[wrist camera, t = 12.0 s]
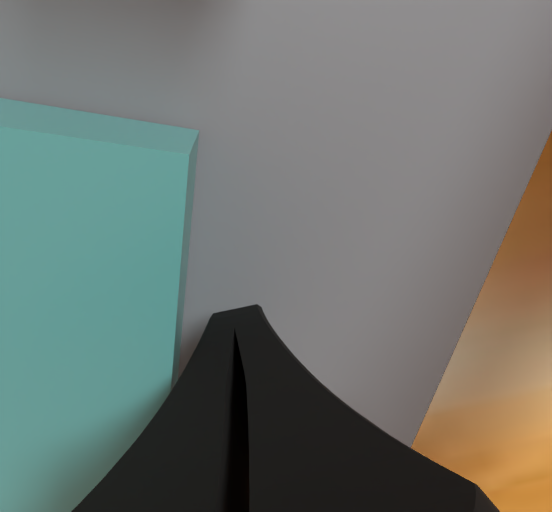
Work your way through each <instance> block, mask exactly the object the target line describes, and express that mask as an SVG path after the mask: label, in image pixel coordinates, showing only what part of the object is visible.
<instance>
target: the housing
mask: <svg viewBox="0 0 552 512" xmlns="http://www.w3.org/2000/svg"><path fill="white" fill-rule="evenodd" d="M198 139H199V130H195V129H189V128H183V127H176V126H170V125H164V124H158V123H152V122H146V121H140V120H133V119H127V118H121V117H115V116H109V115H103V114H96V113H90V112H84V111H78V110H72V109H66V108H60V107H53V106H47V105H41V104H35V103H29V102H23V101H16V100H10V99H4V98H0V512H71V511H72V510H73V509H74V508H75V507H76V506H77V505H78V504H79V503H80V502H81V501H82V500H83V499H84V498H85V497H86V496H87V495H88V494H89V493H90V492H91V491H92V490H93V489H94V488H95V486H96V485H97V484H98V483H99V482H100V481H101V480H102V479H103V478H104V477H105V476H106V474H107V473H108V472H109V471H110V470H111V469H112V468H113V466H114V465H115V464H116V463H117V462H118V461H119V459H120V458H121V457H122V456H123V455H124V454H125V452H126V451H127V450H128V449H129V448H130V447H131V445H132V444H133V443H134V442H135V441H136V439H137V438H138V437H139V436H140V434H141V433H142V432H143V430H144V429H145V428H146V426H147V425H148V424H149V422H150V421H151V420H152V418H153V417H154V415H155V414H156V413H157V411H158V410H159V408H160V407H161V405H162V404H163V403H164V401H165V400H166V398H167V397H168V395H169V393H170V392H171V390H172V388H173V387H174V385H175V384H176V382H177V380H178V371H179V359H180V347H181V336H182V324H183V313H184V301H185V290H186V278H187V266H188V255H189V243H190V232H191V220H192V208H193V197H194V185H195V174H196V162H197V151H198Z"/></svg>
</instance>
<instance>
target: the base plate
mask: <svg viewBox="0 0 552 512" xmlns="http://www.w3.org/2000/svg"><path fill="white" fill-rule="evenodd" d="M0 98H4V99H10V100H16V101H23V102H29V103H35V104H41V105H47V106H53V107H60V108H66V109H72V110H78V111H84V112H90V113H96V114H103V115H109V116H115V117H121V118H127V119H133V120H140V121H146V122H152V123H158V124H164V125H170V126H176V127H183V128H189V129H195V130H199V139H198V151H197V162H196V174H195V185H194V197H193V208H192V220H191V232H190V243H189V255H188V266H187V278H186V290H185V301H184V313H183V324H182V336H181V347H180V359H179V371H178V379H179V377H180V376H181V374H182V372H183V371H184V369H185V367H186V365H187V363H188V362H189V360H190V358H191V356H192V354H193V352H194V350H195V349H196V347H197V345H198V343H199V341H200V339H201V337H202V334H203V332H204V330H205V328H206V326H207V323H208V321H209V319H210V317H211V316H212V314H213V313H217V312H222V311H226V310H231V309H236V308H241V307H246V306H250V305H255V304H258V305H259V306H261V307H262V310H263V312H264V314H265V316H266V318H267V320H268V322H269V323H270V325H271V326H272V328H273V329H274V331H275V332H276V333H277V335H278V336H279V337H280V339H281V340H282V341H283V342H284V344H285V345H286V346H287V347H288V349H289V350H290V351H291V352H292V353H293V354H294V356H295V357H296V358H297V359H298V360H299V361H300V362H301V363H302V364H303V365H304V366H305V367H306V368H307V369H308V370H309V371H310V372H311V373H312V374H313V375H314V376H315V377H316V378H317V379H318V380H319V381H320V382H321V383H322V384H323V385H324V386H326V387H327V388H328V389H329V390H330V391H331V392H332V393H334V394H335V395H336V396H337V397H338V398H340V399H341V400H342V401H343V402H345V403H346V404H347V405H348V406H350V407H351V408H352V409H354V410H355V411H356V412H358V413H359V414H361V415H362V416H363V417H365V418H366V419H368V420H369V421H371V422H372V423H373V424H375V425H376V426H378V427H379V428H380V429H382V430H383V431H385V432H386V433H388V434H389V435H391V436H392V437H394V438H395V439H397V440H399V441H400V442H402V443H403V444H405V445H407V446H408V447H410V448H411V446H412V444H413V441H414V439H415V437H416V435H417V432H418V430H419V428H420V426H421V423H422V421H423V419H424V417H425V414H426V412H427V410H428V408H429V405H430V403H431V401H432V399H433V396H434V394H435V392H436V390H437V387H438V385H439V383H440V381H441V378H442V376H443V374H444V372H445V369H446V367H447V365H448V363H449V360H450V358H451V356H452V354H453V351H454V349H455V347H456V345H457V342H458V340H459V338H460V336H461V333H462V331H463V329H464V327H465V324H466V322H467V320H468V318H469V315H470V313H471V311H472V309H473V306H474V304H475V302H476V300H477V297H478V295H479V293H480V291H481V288H482V286H483V284H484V282H485V279H486V277H487V275H488V273H489V270H490V268H491V266H492V264H493V261H494V259H495V257H496V255H497V252H498V250H499V248H500V246H501V243H502V241H503V239H504V237H505V234H506V232H507V230H508V228H509V225H510V223H511V221H512V219H513V216H514V214H515V212H516V210H517V207H518V205H519V203H520V201H521V198H522V196H523V194H524V192H525V189H526V187H527V185H528V183H529V180H530V178H531V176H532V174H533V171H534V169H535V167H536V165H537V162H538V160H539V158H540V156H541V153H542V151H543V149H544V147H545V144H546V142H547V140H548V138H549V135H550V133H551V131H552V0H0Z"/></svg>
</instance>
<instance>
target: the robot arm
mask: <svg viewBox="0 0 552 512" xmlns="http://www.w3.org/2000/svg"><path fill="white" fill-rule="evenodd" d="M71 512H500V511H499V510H498V509H497V508H496V506H495V505H494V504H493V503H492V502H491V500H490V499H489V498H488V497H487V496H486V495H485V493H484V492H483V491H482V490H481V489H480V488H479V487H478V486H477V485H476V484H475V483H473V482H471V481H469V480H467V479H465V478H463V477H461V476H460V475H458V474H456V473H454V472H452V471H450V470H448V469H447V468H445V467H443V466H441V465H439V464H437V463H435V462H434V461H432V460H430V459H428V458H427V457H425V456H423V455H421V454H420V453H418V452H416V451H415V450H413V449H411V448H410V447H408V446H407V445H405V444H403V443H402V442H400V441H399V440H397V439H395V438H394V437H392V436H391V435H389V434H388V433H386V432H385V431H383V430H382V429H380V428H379V427H378V426H376V425H375V424H373V423H372V422H371V421H369V420H368V419H366V418H365V417H363V416H362V415H361V414H359V413H358V412H356V411H355V410H354V409H352V408H351V407H350V406H348V405H347V404H346V403H345V402H343V401H342V400H341V399H340V398H338V397H337V396H336V395H335V394H334V393H332V392H331V391H330V390H329V389H328V388H327V387H326V386H324V385H323V384H322V383H321V382H320V381H319V380H318V379H317V378H316V377H315V376H314V375H313V374H312V373H311V372H310V371H309V370H308V369H307V368H306V367H305V366H304V365H303V364H302V363H301V362H300V361H299V360H298V359H297V358H296V357H295V356H294V354H293V353H292V352H291V351H290V350H289V349H288V347H287V346H286V345H285V344H284V342H283V341H282V340H281V339H280V337H279V336H278V335H277V333H276V332H275V331H274V329H273V328H272V326H271V325H270V323H269V322H268V320H267V318H266V316H265V314H264V312H263V310H262V307H261V306H259V305H258V304H255V305H250V306H246V307H241V308H236V309H231V310H226V311H222V312H217V313H213V314H212V316H211V317H210V319H209V321H208V323H207V326H206V328H205V330H204V332H203V334H202V337H201V339H200V341H199V343H198V345H197V347H196V349H195V350H194V352H193V354H192V356H191V358H190V360H189V362H188V363H187V365H186V367H185V369H184V371H183V372H182V374H181V376H180V377H179V379H178V380H177V382H176V384H175V385H174V387H173V388H172V390H171V392H170V393H169V395H168V397H167V398H166V400H165V401H164V403H163V404H162V405H161V407H160V408H159V410H158V411H157V413H156V414H155V415H154V417H153V418H152V420H151V421H150V422H149V424H148V425H147V426H146V428H145V429H144V430H143V432H142V433H141V434H140V436H139V437H138V438H137V439H136V441H135V442H134V443H133V444H132V445H131V447H130V448H129V449H128V450H127V451H126V452H125V454H124V455H123V456H122V457H121V458H120V459H119V461H118V462H117V463H116V464H115V465H114V466H113V468H112V469H111V470H110V471H109V472H108V473H107V474H106V476H105V477H104V478H103V479H102V480H101V481H100V482H99V483H98V484H97V485H96V486H95V488H94V489H93V490H92V491H91V492H90V493H89V494H88V495H87V496H86V497H85V498H84V499H83V500H82V501H81V502H80V503H79V504H78V505H77V506H76V507H75V508H74V509H73V510H72V511H71Z"/></svg>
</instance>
